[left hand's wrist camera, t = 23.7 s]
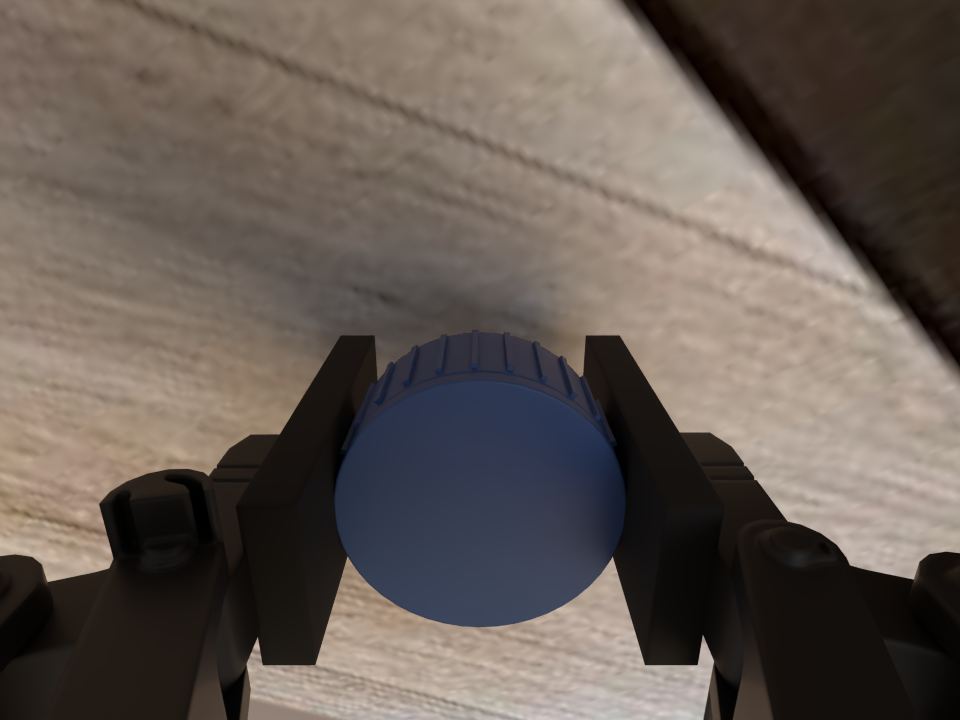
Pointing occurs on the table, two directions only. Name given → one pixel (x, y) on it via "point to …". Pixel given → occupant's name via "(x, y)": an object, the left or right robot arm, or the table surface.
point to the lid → (480, 482)
